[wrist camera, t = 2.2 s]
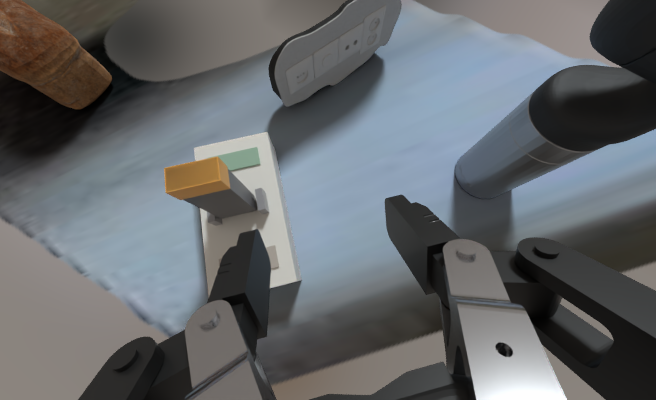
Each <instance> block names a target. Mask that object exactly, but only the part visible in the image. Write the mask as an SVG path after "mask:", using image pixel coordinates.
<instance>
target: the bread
mask: <svg viewBox="0 0 656 400" xmlns="http://www.w3.org/2000/svg"><path fill="white" fill-rule="evenodd" d="M0 71H2V72H4V73H6V74H8V75H9V76H11V77H13V78H15V79H18V80H20V81H23V82H26V83H28V84H29V85H31V86H32V87H34V88H35V89H37V90H39V91H40V92H42V93H44V94H45V95H47V96H49V97H50V98H52V99H53V100H55V101H57V102H58V103H60V104H62V105H64V106H66V107H70V108H73V109H82V108H84V107H87V106H88V105H90V104H91V103H92V102H94V101H95V100H96V99H97V98H98V97H99V96H100V95H101V94H102V93H103V92H104V91H105V90H106V89H107V87H108V86H109V85H110V83H111V81H112V76H111V75H110V73H109V72H108V71H107V70H106V69H105V68H104V67H103V66H102V65H101V64H100V63H99V62H98V61H97V60H95V59H94V58H93V57H92V56H91V55H90V54H89V53H88V52H87V51H85V50H84V49H83V48H82V47H81V46H80V45H79V43H78V41H77V39H76V38H75V37H73V36H72V35H71V34H70V33H69V32H68V31H67V30H65V29H64V28H63V27H61V26H60V25H59V24H57V23H56V22H54V21H52V20H50V19H48V18H47V17H45V16H43V15H42V14H40V13H39V12H37V11H36V10H34V9H33V8H32V7H30V6H29V5H27V4H26V3H25V2H23V1H21V0H0Z"/></svg>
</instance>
